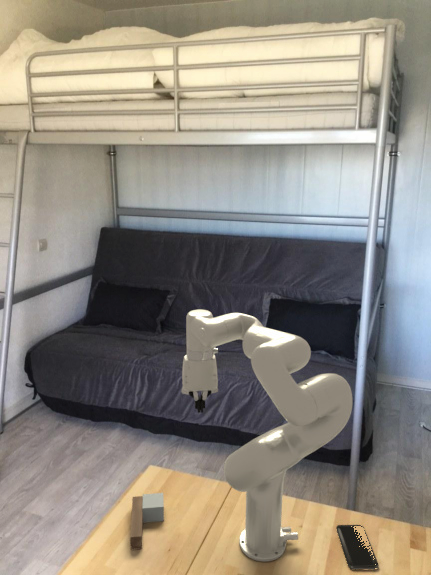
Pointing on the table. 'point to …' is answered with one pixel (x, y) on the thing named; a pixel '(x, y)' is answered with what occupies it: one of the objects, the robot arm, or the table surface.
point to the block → (153, 507)
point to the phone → (355, 548)
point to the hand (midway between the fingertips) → (200, 410)
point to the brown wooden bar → (136, 523)
